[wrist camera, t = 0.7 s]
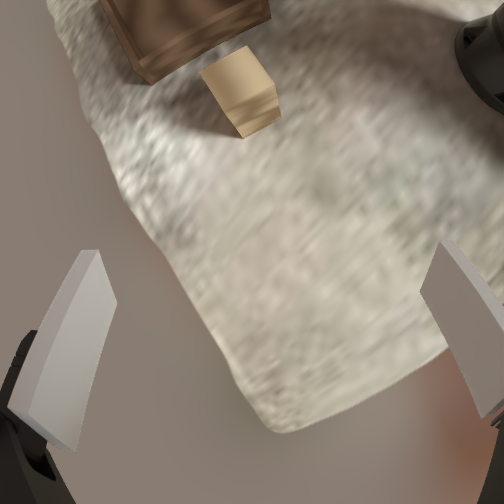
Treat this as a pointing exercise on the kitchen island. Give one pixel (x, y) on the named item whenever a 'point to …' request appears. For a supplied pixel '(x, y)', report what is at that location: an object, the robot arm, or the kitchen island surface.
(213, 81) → the oak peg
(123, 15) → the walnut crate
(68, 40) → the kitchen island surface
